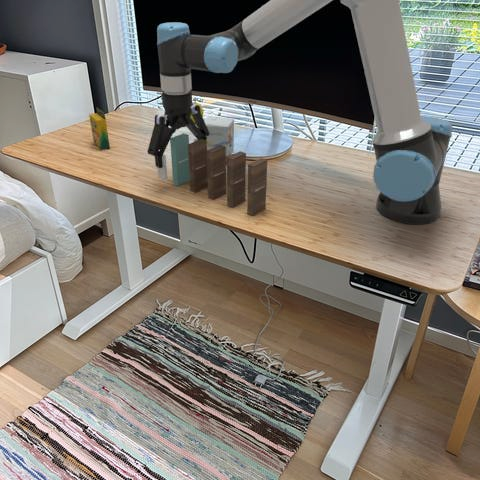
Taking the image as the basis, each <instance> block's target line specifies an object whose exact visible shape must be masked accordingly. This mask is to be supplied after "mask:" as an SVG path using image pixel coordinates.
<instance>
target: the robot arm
mask: <svg viewBox="0 0 480 480" xmlns="http://www.w3.org/2000/svg"><path fill="white" fill-rule="evenodd" d="M332 1H333V0H269V1H267V2H266V3H265V4H262V5H261V7H260V8H258V9H257V10H255V11H254V12H252V13H251V14H250V15H248V16H247V17H246V18H244V19H243V20H242V21H240V22H239V23H238V24H236V25H234V26H233V27H231V28H230V29H228V30H225V31H222V32H218V33H215V34H214V33H213V34H211V35H200V34H193V33H191V32H190V27H189V25H188V24H187V23H185V22H184V23H183V22H174V21H173V22H164V23H160V24H159V25H158V26H157V29H156V32H157V33H156V35H157V42H156V45H157V54H158V60H159V61H158V63H159V76H160V77H159V78H160V89H161V91H162V92H161V100H162V101H161V102H162V103H161V104H162V107H163V109H164V113H163V115H159V114H155V116H154V125H153V128H152V129H153V130H152V132H151V136H150V140H149V144H148V148H147V151H146V152H147V154H148V155H151V156H153V157H154V162H155V163H154V164H155V167H156V168H157V176H158V178H161V179H162V180H165V181H166V180H168V168H167V156H166V155H165V151H166V149H167V148H168V145H169V144H170V139H171V138H172V137H173V134H174V133H176V131H177V130H179V129H181V128H187V129H188V130H189V131H190V133H191V134H192V135H193V136H194V137H195V138H194V139H193V142H195V141H198V140H200V139H203V140H207V137H206V136H209V134H210V133H209V131H208V128H207V126H206V124H205V122H204V120H205V119H204V116H203V117H202V115H201V111H200V106H199V105H200V104H199V105H195V104H193V92H192V91H191V90H193V86H192V70H199V71H203V72H204V71H206V72H212V73H215V74H220V73H222V74H228V73H231V72H232V71H233V70H234V69H235V67H236V65H237V64H238V62H239V61H244V60H246V59H248V58H250V57H252V56H253V55H254V54H255V53H256V51H258V50H259V49H260V48H262V47H264V46H265V45H266V44H268V43H270V42H271V41H273V40H274V39H276V38H277V37H279V36H280V35H282V34H283V33H285V32H287V31H288V30H290V29H291V28H292V27H295V26H296V25H297V24H299V23H300V22H302V21H303V20H305V19H306V18H308V17H309V16H312V14H314V13H315V12H317V11H319V10H320V9H322V8H323V7H325V6H326V5H328V4H329V3H331V2H332ZM339 1H340V3H341V4H342V5H344V6H346V7H348V9H350V12H351V16H352V22H353V24H354V25H353V26H354V30H355V35H356V39H357V44H358V48H359V54H360V58H361V62H362V65H363V66H362V67H363V69H364V76H365V79H366V84H367V89H368V93H369V97H370V102H371V107H372V112H373V115H374V116H373V117H374V121H375V124H376V125H375V126H376V130H377V131H376V133H375V135H374V136H373V138H372V139H371V140H372V141H371V142H372V146H373V150H374V151H373V152H374V155H375V160H376V162H375V165H374V167H373V176H372V177H373V182H374V184H375V186H376V188H377V189H378V192H379V194H378V195H377V198H376V205H375V206H376V210H377V211H378V212H379V213H380V214H381V215H382V216H384V217H385V218H387V219H390V220H392V221H396V222H399V223H402V224H411V225H424V224H423V223H426V224H430V223H432V222H431V221H433V222H434V220H435V221H437V220H438V219H439V217H440V214H441V210H442V201H441V194H440V193H441V192H440V182H441V177H442V173H443V169H444V164H445V161H446V157H447V153H448V149H449V144H450V140H451V138H452V137H453V135H452V132H453V125H452V123H451V122H450V121H448V120H445V119H442V118H439V117H433V116H427V115H421V111H420V106H419V100H418V94H417V90H416V84H415V80H414V79H415V78H414V73H413V68H412V63H411V57H410V54H409V53H410V52H409V45H408V43H407V38H406V32H405V31H406V30H405V26H404V21H403V20H404V19H403V15H402V10H401V5H400V4H401V3H400V0H339ZM191 114H192V116H193V119H194V121H195V123H194V122H193V120H192V119H191V118H190V116H191ZM437 218H438V219H437ZM429 222H430V223H429Z"/></svg>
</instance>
